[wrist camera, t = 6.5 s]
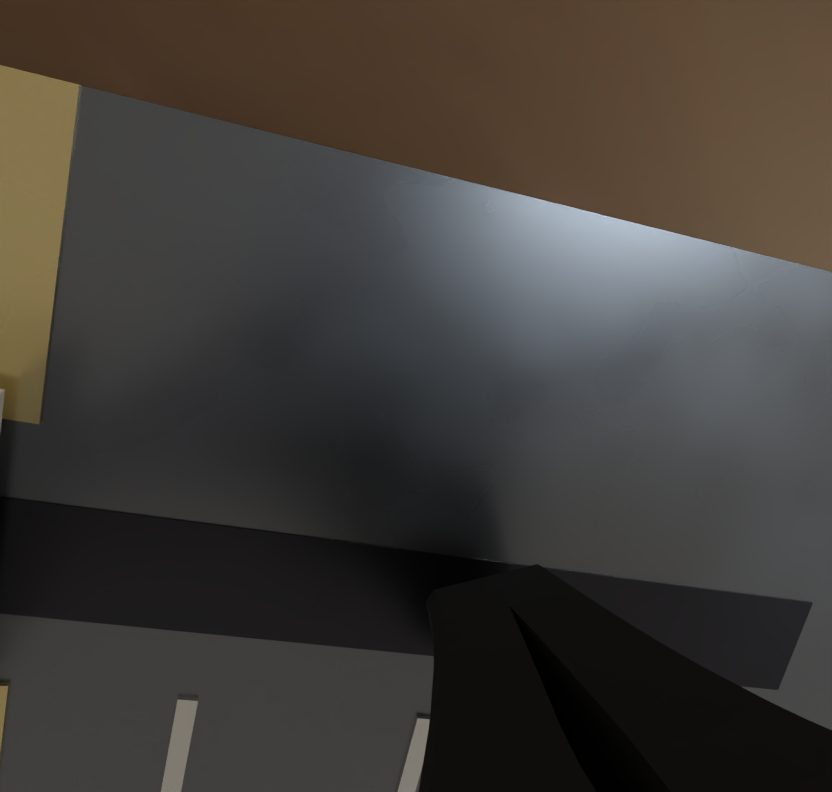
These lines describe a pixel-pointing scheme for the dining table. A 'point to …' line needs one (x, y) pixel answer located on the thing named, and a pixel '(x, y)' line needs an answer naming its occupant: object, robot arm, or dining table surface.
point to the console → (364, 445)
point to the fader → (1, 404)
